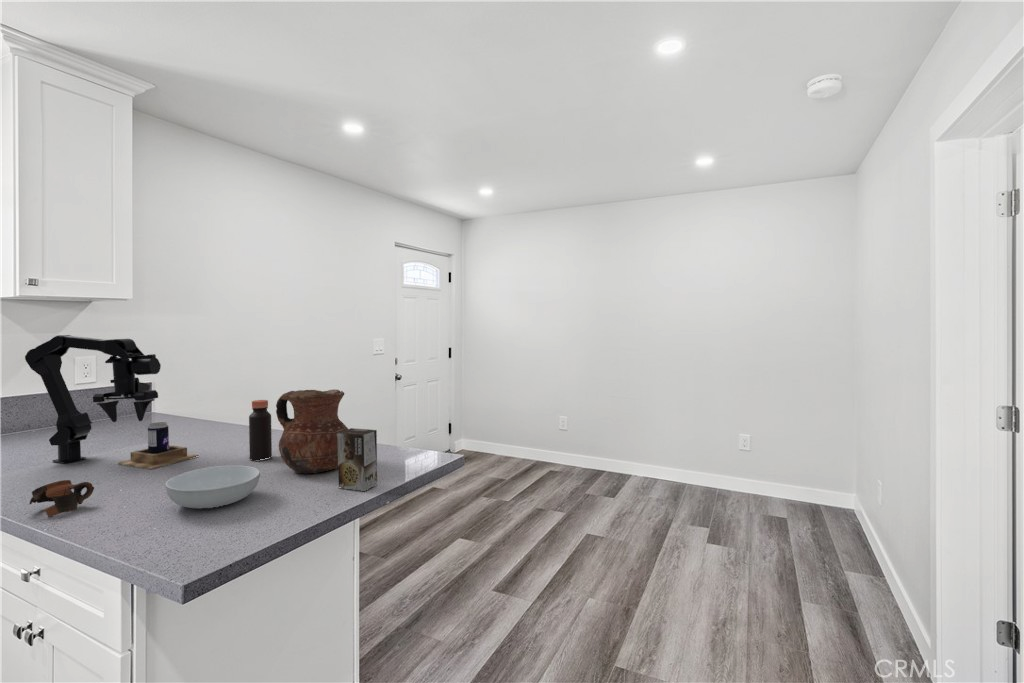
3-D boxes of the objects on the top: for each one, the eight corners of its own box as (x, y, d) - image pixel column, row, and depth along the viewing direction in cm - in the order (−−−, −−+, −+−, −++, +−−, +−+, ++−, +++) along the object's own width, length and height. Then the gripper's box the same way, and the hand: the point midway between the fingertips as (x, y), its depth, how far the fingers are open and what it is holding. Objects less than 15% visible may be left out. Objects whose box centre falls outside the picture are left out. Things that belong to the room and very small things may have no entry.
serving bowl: (191, 525, 112) (191, 495, 112) (150, 507, 123) (149, 480, 123) (276, 498, 130) (276, 472, 129) (233, 484, 141) (233, 460, 140)
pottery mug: (30, 523, 114) (21, 491, 115) (42, 528, 121) (33, 497, 123) (95, 499, 121) (85, 469, 122) (103, 505, 128) (94, 476, 130)
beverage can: (166, 460, 163) (165, 424, 162) (145, 461, 161) (144, 425, 160) (171, 455, 168) (170, 421, 168) (151, 457, 166) (151, 422, 166)
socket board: (118, 464, 160) (117, 453, 160) (167, 452, 175) (167, 442, 175) (150, 469, 154) (150, 458, 154) (198, 456, 169) (198, 446, 169)
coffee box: (378, 485, 140) (377, 429, 139) (364, 492, 134) (364, 434, 133) (351, 481, 143) (351, 427, 142) (337, 488, 137) (336, 432, 136)
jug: (343, 455, 171) (342, 385, 170) (360, 471, 153) (360, 392, 153) (274, 465, 159) (273, 389, 158) (284, 483, 141) (282, 398, 140)
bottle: (275, 457, 168) (275, 400, 167) (256, 462, 162) (255, 403, 162) (264, 455, 172) (263, 398, 171) (245, 459, 166) (244, 401, 165)
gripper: (168, 372, 172) (171, 415, 173) (118, 374, 173) (121, 417, 173) (143, 375, 161) (146, 422, 161) (89, 377, 162) (93, 424, 162)
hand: (127, 421), depth 165 cm, fingers open, 9 cm apart
